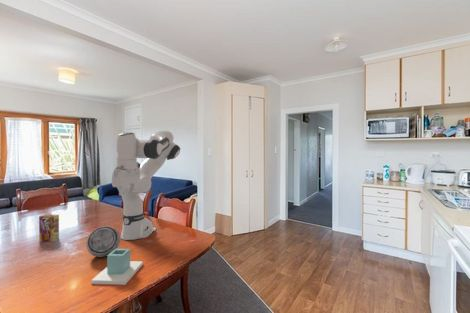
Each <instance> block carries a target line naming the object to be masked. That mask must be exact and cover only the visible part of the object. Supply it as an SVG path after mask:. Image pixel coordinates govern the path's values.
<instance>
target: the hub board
mask: <svg viewBox="0 0 470 313" xmlns="http://www.w3.org/2000/svg"><path fill="white" fill-rule="evenodd" d="M143 265H144V261H137V260H135V261H134V260H133V261H131V260H130V267H129V268H128V269H127V270H126V271H125V272H124V273H123V274H107V266H106V267H105V268H104V269H103V270H101V271H100V272H99V273H98V274H96V275H95V276H94V277H93V278H92V279H90V283H91V284H92V285H119V286H120V285H121V286H123V285H124V286H126V285H127V283H128V282H129V281H130V280H131V279H132V278H133V277H134V275H135V274H136V273H137V272H139V270H140V269H141V267H142V266H143Z"/></svg>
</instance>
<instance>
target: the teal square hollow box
mask: <svg viewBox="0 0 470 313" xmlns="http://www.w3.org/2000/svg"><path fill="white" fill-rule="evenodd" d="M106 257H107V258H106V259H107V260H106V261H107V262H106V267H107V274H123V273H124V272H125V271H126V270H127V269H128V268H129V267H130V261H131V248H117V249H115V250H114V251H112V252H111V253H110V254H109V255H107V256H106Z"/></svg>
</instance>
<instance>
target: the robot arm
mask: <svg viewBox="0 0 470 313" xmlns="http://www.w3.org/2000/svg"><path fill="white" fill-rule="evenodd" d="M173 141H174V135H173V133H172V132H171V131H169V130H159V131H156V132H154V133H152V134H151V135H150V136H149V139H138V138H137V137H136V133H135V132H121V133H120V132H119V134H118V135H117V138H116V153H117V156H116V166H115V169H114V170H113V171H112V176H111V177H112V178H111V185H112V187H113V188H117V191H118V195H119V196H121V198H122V202H123V215H122V221H123V222H122V227H121V229H122V230H121V232H120V240H121V239H122V240H126V241H131V240H132V241H134V240H137V239H139V240H140V239H145V238H147V237H149V236H150V235H151V234H153V233H154V232H155V231H156V230H157V229H156V227H155V226H154V227H153V222H152V221H151V220H149V219H148V218H146V216H147V215H148V212H147V211H144V208H143V207H144V205H143V204H144V201H143V199H142V197H140V195H139V194H141V193H147V192H148V191H149V190H150V189H151V187H152V178H153V176H154V175H155V174H156V173H157V172H158V171H159V170H160V169H161V168H162V166H163V165H164V163H165V162H166V160H167V161H170V160H174V159H176V158H177V157H178V156H179V155H180V152H181V147H180V146H179V145H178V144H176V143H175V142H173ZM137 159H144V160H143V161H142V162H138V161H137ZM153 231H154V232H153ZM152 232H153V233H152Z"/></svg>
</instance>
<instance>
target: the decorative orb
mask: <svg viewBox="0 0 470 313" xmlns="http://www.w3.org/2000/svg"><path fill="white" fill-rule="evenodd" d="M120 242H121V234H120V232H119V231H118V230H117V229H116V228H114V227H112V226H110V225H109V226H108V225H104V226H99V227H97V228H95V229H94V230H92V231H91V232H90V234H89V235H88V237H87V240H86V248H87V249H86V250H88V252H89V253H90V255H92V256H94V257H96V258H97V257H98V258H104V257H107V255H109V254H110V253H111V252H112V251H114V250H115V249H118V247H119V246H120Z"/></svg>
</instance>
